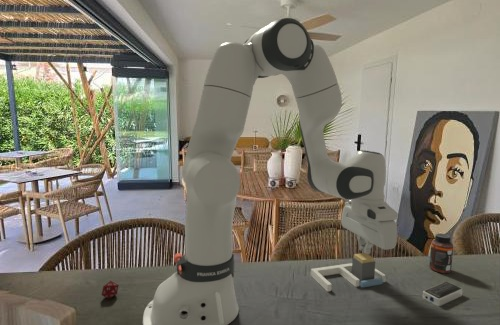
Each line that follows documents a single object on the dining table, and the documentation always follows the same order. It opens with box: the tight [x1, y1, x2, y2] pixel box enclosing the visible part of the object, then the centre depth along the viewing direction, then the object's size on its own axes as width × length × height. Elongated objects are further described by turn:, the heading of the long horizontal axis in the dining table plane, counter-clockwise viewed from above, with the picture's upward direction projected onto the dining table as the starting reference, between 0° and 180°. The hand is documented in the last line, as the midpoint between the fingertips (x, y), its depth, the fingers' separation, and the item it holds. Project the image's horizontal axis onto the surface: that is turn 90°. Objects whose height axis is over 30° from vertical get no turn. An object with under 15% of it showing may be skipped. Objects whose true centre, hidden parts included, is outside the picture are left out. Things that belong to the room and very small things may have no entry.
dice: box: [101, 280, 119, 300], centre depth 78 cm, size 4×4×4 cm
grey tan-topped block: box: [351, 252, 376, 284], centre depth 89 cm, size 4×4×7 cm
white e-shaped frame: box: [310, 262, 387, 293], centre depth 89 cm, size 19×10×2 cm, turn 107°
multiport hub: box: [422, 281, 463, 307], centre depth 80 cm, size 4×11×2 cm, turn 118°
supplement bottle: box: [428, 233, 454, 274], centre depth 95 cm, size 6×6×11 cm
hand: (364, 251), depth 89 cm, fingers closed
